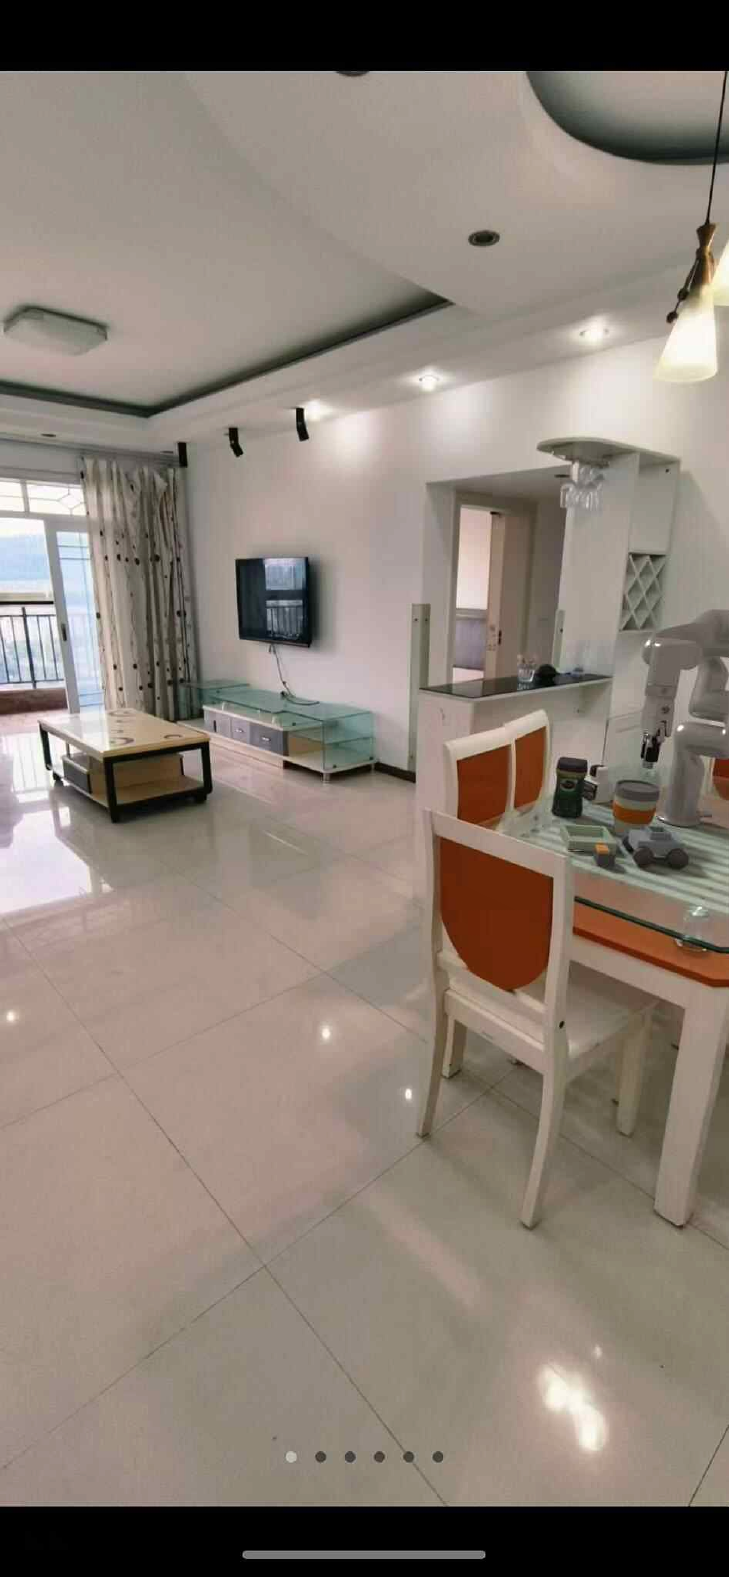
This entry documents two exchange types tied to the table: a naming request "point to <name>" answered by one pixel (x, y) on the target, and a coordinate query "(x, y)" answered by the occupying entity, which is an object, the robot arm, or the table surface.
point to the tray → (586, 837)
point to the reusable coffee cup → (634, 805)
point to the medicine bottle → (597, 785)
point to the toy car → (655, 846)
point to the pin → (645, 764)
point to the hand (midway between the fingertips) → (648, 759)
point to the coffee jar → (569, 787)
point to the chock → (604, 855)
